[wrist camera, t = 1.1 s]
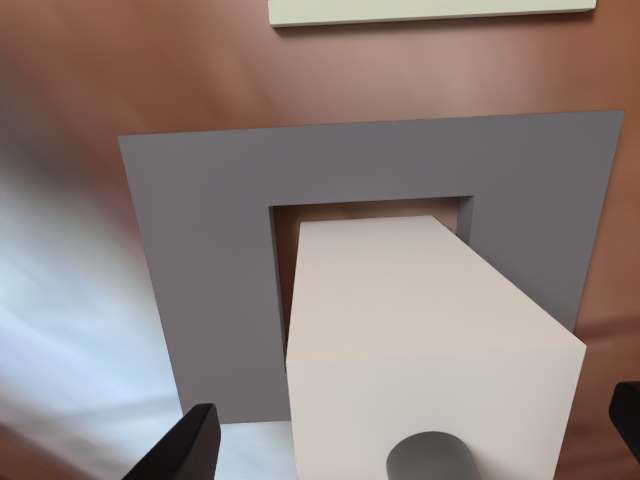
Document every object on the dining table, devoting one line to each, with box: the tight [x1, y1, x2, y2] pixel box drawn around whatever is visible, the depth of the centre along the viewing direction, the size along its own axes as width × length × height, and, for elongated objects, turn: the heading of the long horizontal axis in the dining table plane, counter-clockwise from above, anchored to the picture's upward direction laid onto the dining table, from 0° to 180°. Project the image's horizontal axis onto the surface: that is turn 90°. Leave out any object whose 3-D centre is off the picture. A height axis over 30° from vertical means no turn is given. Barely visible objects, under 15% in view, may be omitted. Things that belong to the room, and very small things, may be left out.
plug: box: [286, 215, 587, 480], centre depth 9 cm, size 5×5×10 cm
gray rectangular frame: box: [117, 110, 625, 424], centre depth 14 cm, size 16×12×1 cm
